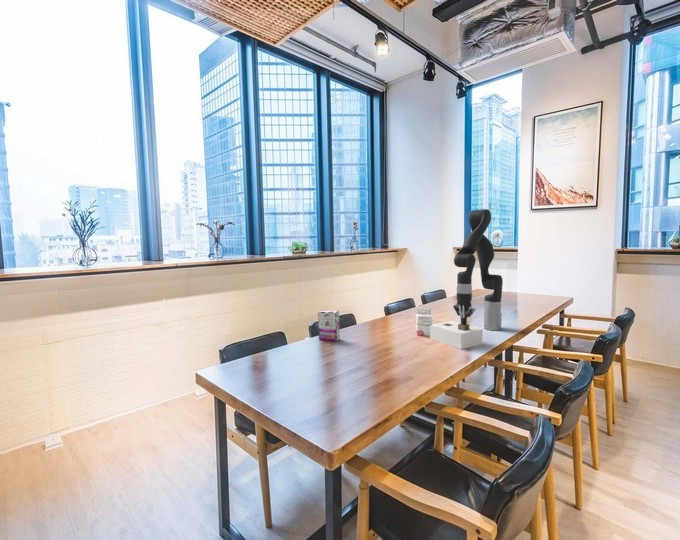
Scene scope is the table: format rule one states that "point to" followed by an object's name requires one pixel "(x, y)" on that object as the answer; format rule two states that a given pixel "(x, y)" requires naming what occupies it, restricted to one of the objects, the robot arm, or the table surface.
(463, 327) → the peg
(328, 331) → the candy bar box
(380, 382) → the table surface
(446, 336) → the housing
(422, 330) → the ink cartridge box
